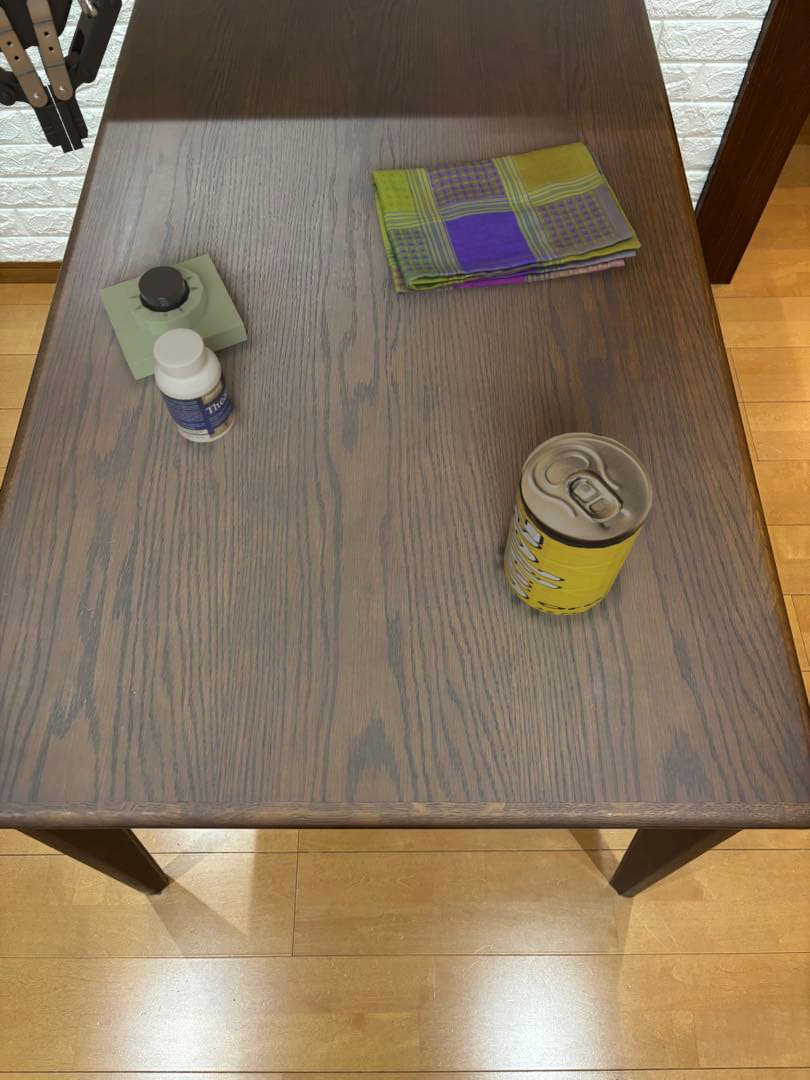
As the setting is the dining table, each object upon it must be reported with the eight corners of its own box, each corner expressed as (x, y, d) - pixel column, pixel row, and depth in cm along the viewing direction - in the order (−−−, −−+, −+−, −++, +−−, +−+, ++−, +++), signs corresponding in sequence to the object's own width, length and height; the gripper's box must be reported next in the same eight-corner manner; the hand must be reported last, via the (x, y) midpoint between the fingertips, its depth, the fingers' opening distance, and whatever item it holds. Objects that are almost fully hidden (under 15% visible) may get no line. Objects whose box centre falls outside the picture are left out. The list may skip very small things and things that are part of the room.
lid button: (151, 318, 74) (145, 304, 73) (138, 288, 76) (132, 274, 74) (193, 303, 75) (188, 289, 74) (179, 274, 77) (174, 260, 75)
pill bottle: (228, 448, 72) (202, 377, 63) (168, 440, 73) (135, 369, 64) (243, 399, 74) (220, 324, 66) (185, 392, 75) (155, 317, 66)
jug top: (135, 380, 76) (122, 352, 72) (105, 306, 80) (91, 276, 76) (248, 340, 78) (240, 310, 74) (213, 269, 82) (203, 238, 78)
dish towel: (368, 181, 87) (367, 159, 85) (591, 152, 89) (596, 129, 87) (396, 304, 79) (395, 283, 77) (640, 269, 81) (647, 248, 79)
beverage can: (558, 495, 69) (583, 410, 59) (638, 568, 66) (680, 492, 56) (480, 558, 67) (491, 481, 56) (559, 637, 64) (587, 571, 53)
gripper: (56, -210, 46) (146, 89, 61) (-193, -159, 43) (-35, 140, 58) (92, -151, 42) (177, 149, 58) (-175, -92, 40) (-12, 205, 55)
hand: (70, 144), depth 58 cm, fingers closed
